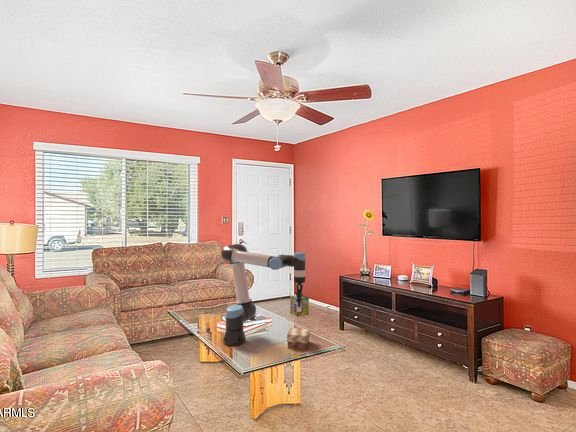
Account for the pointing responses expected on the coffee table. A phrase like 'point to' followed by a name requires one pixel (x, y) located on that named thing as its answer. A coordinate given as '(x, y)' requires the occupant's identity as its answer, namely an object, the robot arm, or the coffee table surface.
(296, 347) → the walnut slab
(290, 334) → the birch slab
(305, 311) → the chalk box
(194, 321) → the coffee table surface
